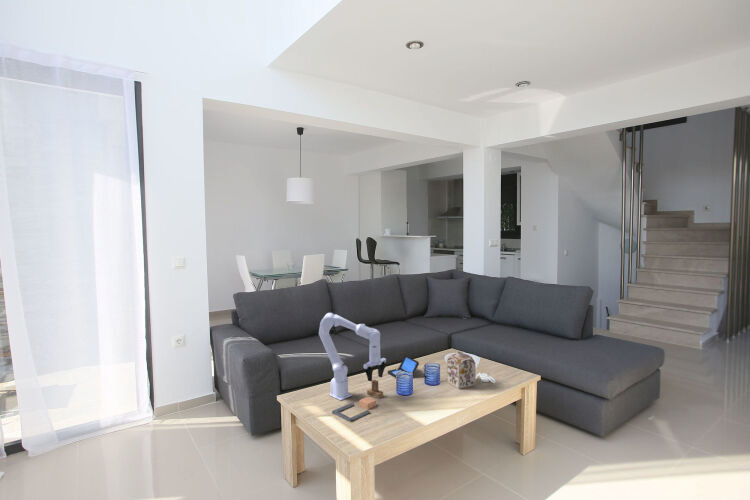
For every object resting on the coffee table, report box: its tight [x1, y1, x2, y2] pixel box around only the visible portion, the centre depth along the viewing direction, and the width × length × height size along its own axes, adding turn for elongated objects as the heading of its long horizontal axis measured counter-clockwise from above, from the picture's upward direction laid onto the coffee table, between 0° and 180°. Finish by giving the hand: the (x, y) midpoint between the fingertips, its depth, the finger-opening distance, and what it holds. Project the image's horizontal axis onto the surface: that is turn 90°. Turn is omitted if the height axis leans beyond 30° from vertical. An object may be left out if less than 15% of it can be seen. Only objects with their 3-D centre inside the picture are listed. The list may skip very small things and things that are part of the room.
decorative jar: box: [446, 351, 477, 390], centre depth 232 cm, size 12×12×18 cm
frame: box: [331, 402, 370, 423], centre depth 198 cm, size 13×12×1 cm
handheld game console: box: [387, 354, 420, 379], centre depth 247 cm, size 16×13×9 cm
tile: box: [359, 396, 377, 410], centre depth 206 cm, size 6×6×3 cm
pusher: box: [366, 379, 384, 399], centre depth 218 cm, size 8×4×8 cm, turn 45°
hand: (375, 378), depth 216 cm, fingers open, 7 cm apart
